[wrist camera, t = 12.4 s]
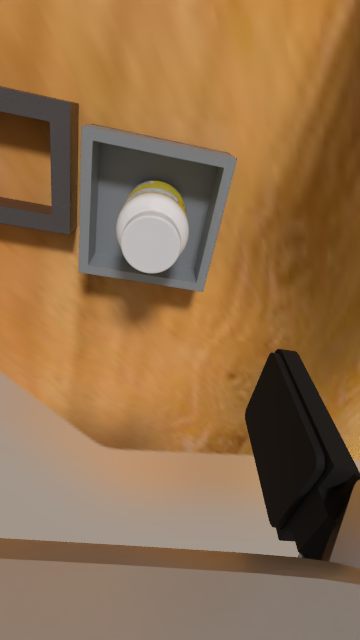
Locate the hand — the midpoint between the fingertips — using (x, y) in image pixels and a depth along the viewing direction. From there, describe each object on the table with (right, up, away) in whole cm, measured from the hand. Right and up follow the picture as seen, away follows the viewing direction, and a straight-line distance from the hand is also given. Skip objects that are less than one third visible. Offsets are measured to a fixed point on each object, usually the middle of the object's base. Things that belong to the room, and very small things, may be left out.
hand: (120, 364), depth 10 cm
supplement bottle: (0, +12, +19) cm, 23 cm away
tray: (-1, +12, +20) cm, 23 cm away
